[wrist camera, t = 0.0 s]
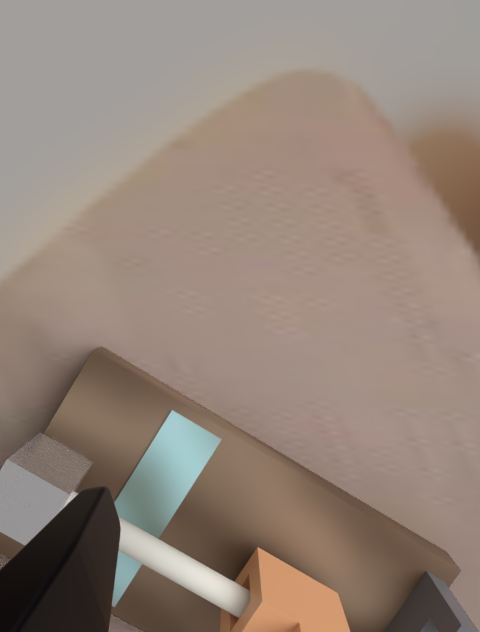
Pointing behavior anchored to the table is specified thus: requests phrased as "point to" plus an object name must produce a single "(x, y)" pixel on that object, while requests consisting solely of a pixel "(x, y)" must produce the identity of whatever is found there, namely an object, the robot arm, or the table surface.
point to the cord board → (225, 505)
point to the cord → (181, 568)
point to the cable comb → (431, 610)
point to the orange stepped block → (284, 600)
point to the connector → (37, 485)
